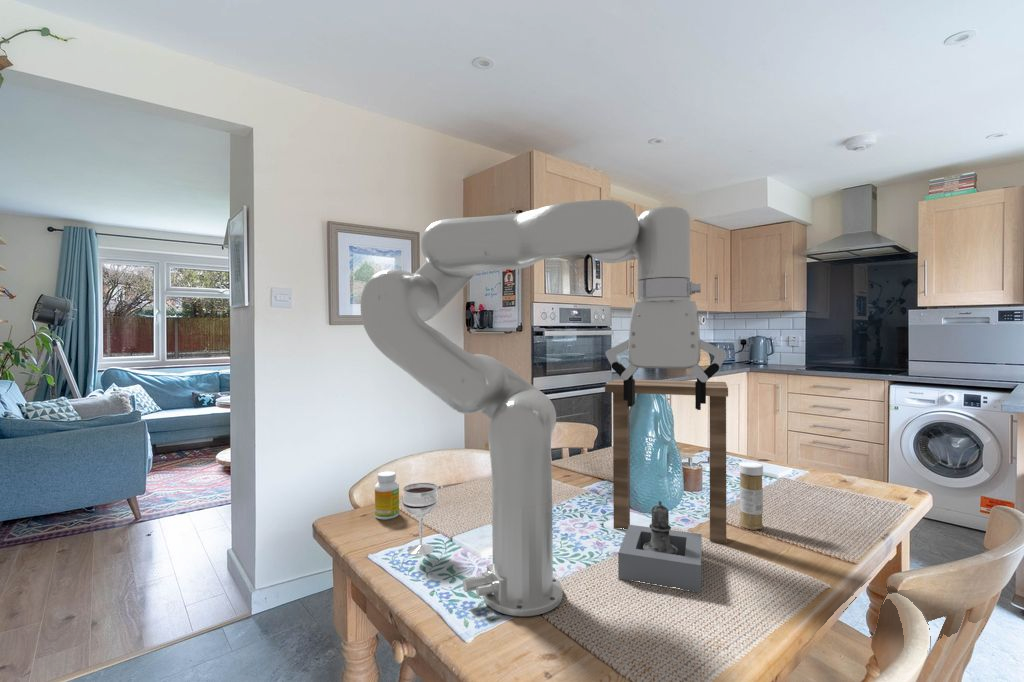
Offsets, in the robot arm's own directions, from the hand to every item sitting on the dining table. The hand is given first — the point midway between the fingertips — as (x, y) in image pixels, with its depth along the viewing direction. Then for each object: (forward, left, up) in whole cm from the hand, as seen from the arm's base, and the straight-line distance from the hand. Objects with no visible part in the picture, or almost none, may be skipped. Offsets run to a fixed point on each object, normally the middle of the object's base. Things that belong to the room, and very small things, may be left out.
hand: (663, 407), depth 73 cm
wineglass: (-29, +35, -31) cm, 55 cm away
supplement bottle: (-32, +56, -31) cm, 71 cm away
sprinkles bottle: (+38, +17, -31) cm, 52 cm away
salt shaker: (+8, +10, -31) cm, 33 cm away
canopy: (+16, +18, -30) cm, 39 cm away
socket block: (+8, +10, -30) cm, 33 cm away
